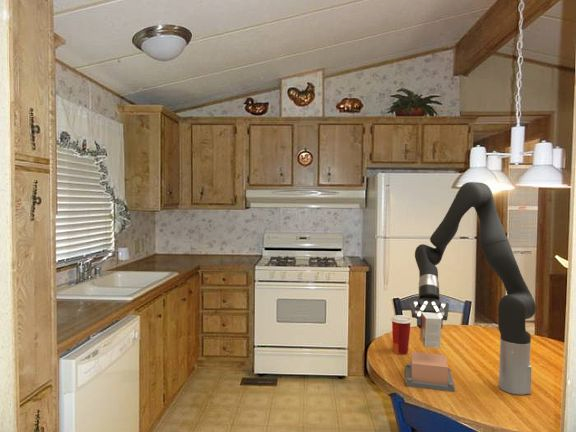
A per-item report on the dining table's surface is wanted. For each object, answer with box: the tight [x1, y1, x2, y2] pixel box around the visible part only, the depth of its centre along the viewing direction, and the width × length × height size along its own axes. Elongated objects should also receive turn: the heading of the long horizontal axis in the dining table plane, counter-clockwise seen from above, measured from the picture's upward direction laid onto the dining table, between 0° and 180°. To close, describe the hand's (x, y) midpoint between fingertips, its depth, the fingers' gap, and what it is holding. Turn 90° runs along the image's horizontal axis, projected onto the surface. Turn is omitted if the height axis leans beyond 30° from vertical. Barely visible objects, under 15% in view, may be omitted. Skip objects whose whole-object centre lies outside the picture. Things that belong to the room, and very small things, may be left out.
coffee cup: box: [390, 314, 412, 356], centre depth 185 cm, size 8×8×15 cm
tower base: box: [404, 351, 456, 393], centre depth 158 cm, size 16×16×8 cm
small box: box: [419, 312, 442, 349], centre depth 157 cm, size 8×6×10 cm
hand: (429, 328), depth 157 cm, fingers closed on small box, 6 cm apart
